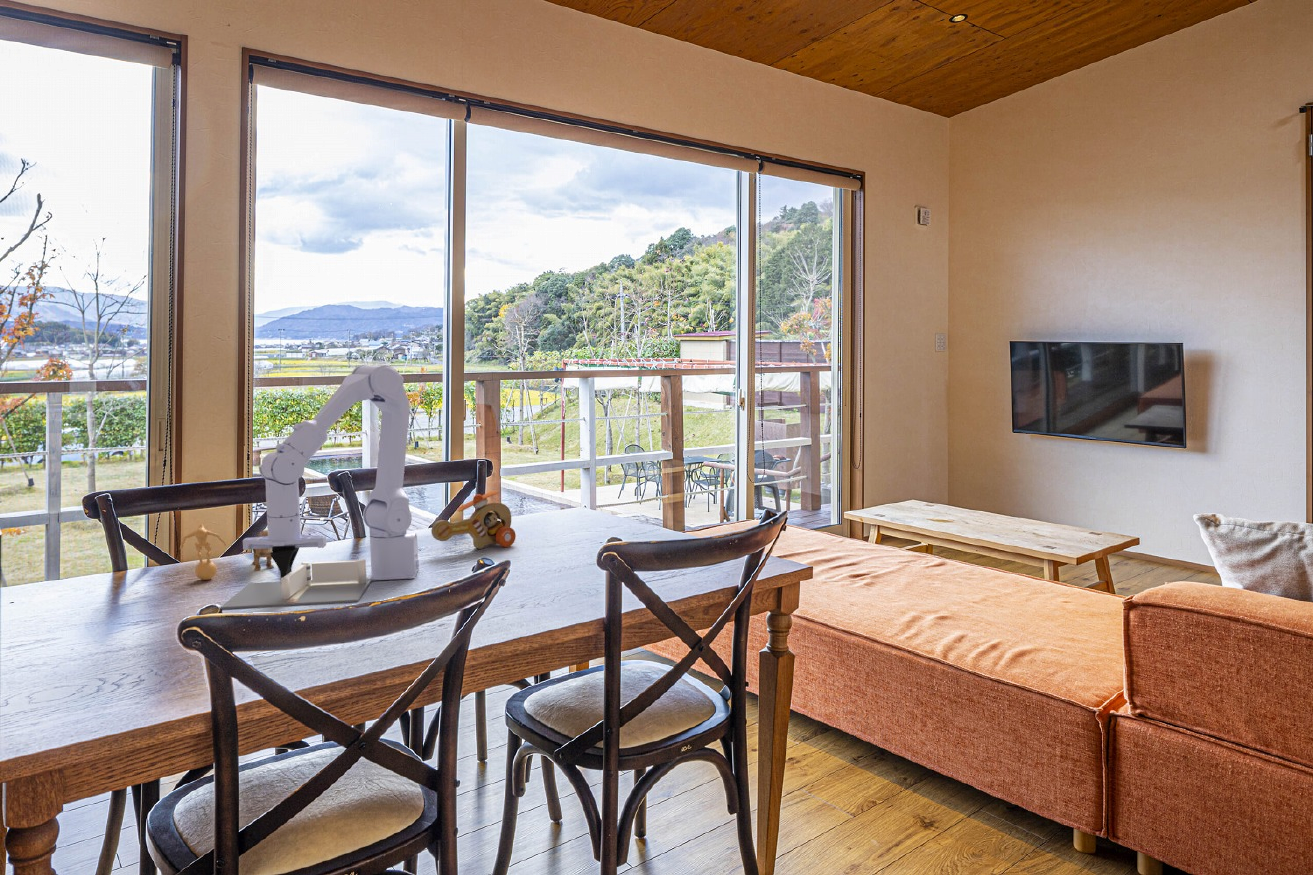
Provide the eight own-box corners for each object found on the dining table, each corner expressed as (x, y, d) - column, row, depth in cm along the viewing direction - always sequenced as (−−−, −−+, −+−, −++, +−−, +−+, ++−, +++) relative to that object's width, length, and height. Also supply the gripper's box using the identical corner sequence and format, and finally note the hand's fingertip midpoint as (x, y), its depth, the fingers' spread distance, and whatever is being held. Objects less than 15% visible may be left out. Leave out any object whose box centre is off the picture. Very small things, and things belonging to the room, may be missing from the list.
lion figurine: (283, 570, 177) (281, 529, 176) (256, 574, 173) (254, 533, 173) (270, 557, 188) (268, 518, 188) (244, 560, 185) (242, 521, 184)
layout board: (373, 578, 169) (373, 576, 169) (357, 601, 154) (357, 599, 154) (249, 584, 166) (249, 582, 166) (220, 609, 150) (220, 606, 150)
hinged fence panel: (300, 583, 162) (299, 564, 162) (308, 583, 162) (307, 564, 162) (280, 598, 152) (279, 578, 152) (288, 598, 152) (287, 578, 152)
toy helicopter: (520, 544, 199) (518, 489, 197) (443, 560, 184) (441, 500, 183) (501, 539, 205) (499, 485, 203) (425, 554, 190) (423, 495, 189)
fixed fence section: (367, 581, 166) (366, 559, 166) (365, 583, 165) (364, 561, 164) (303, 584, 164) (302, 562, 164) (301, 586, 163) (300, 564, 162)
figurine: (230, 575, 173) (226, 519, 172) (226, 582, 168) (222, 524, 166) (185, 579, 170) (182, 522, 169) (179, 586, 165) (175, 528, 163)
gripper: (235, 520, 150) (238, 592, 151) (317, 518, 152) (320, 589, 153) (249, 512, 157) (252, 582, 158) (327, 511, 159) (330, 579, 160)
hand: (286, 585), depth 156 cm, fingers closed, pressing on hinged fence panel
